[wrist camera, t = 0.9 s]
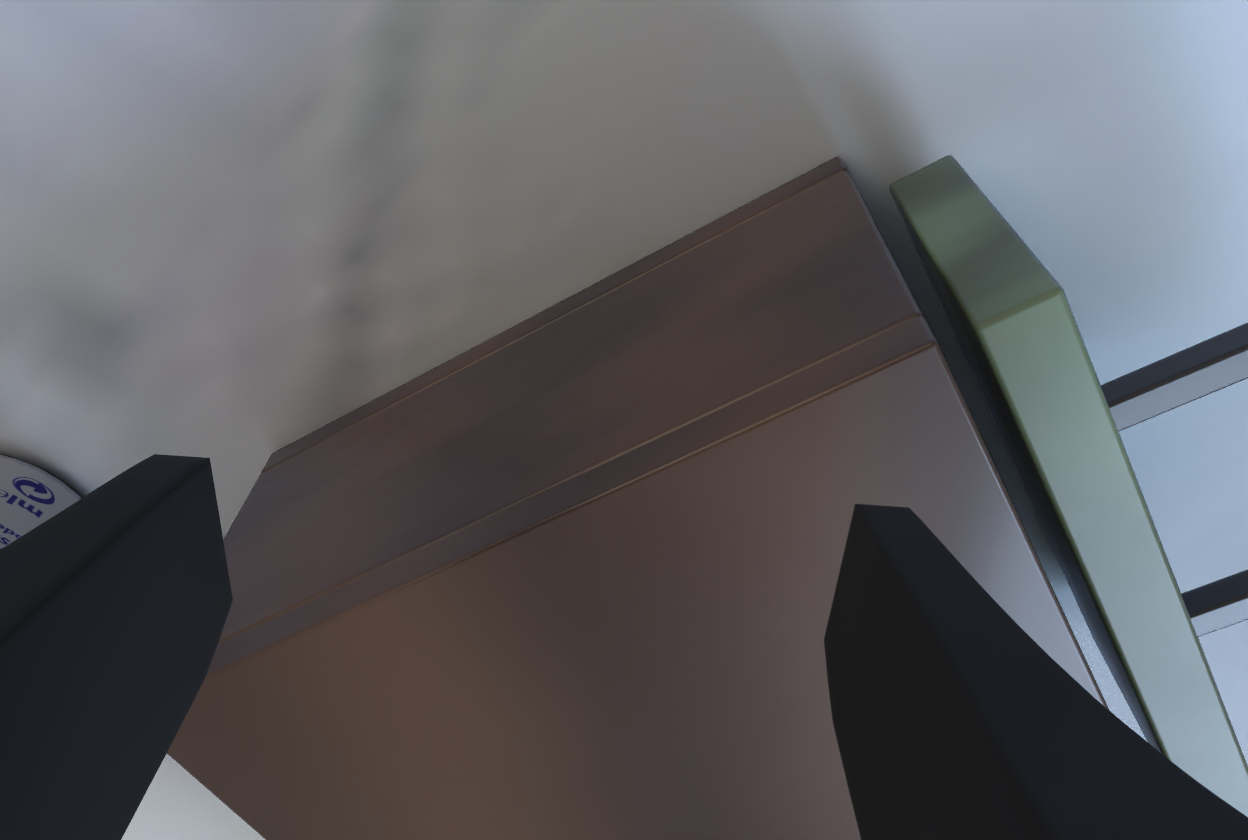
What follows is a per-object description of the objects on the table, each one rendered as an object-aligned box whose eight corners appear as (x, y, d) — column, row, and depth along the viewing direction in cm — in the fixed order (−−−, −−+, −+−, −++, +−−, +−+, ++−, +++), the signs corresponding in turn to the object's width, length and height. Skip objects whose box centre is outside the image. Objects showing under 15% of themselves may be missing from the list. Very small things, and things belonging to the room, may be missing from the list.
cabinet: (839, 153, 19) (936, 339, 13) (1066, 635, 25) (1211, 929, 19) (270, 453, 23) (120, 715, 16) (586, 810, 29) (568, 1106, 22)
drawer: (1213, 17, 17) (1446, 110, 12) (1353, 543, 22) (1554, 757, 17) (379, 443, 22) (298, 637, 17) (664, 792, 27) (667, 1016, 22)
